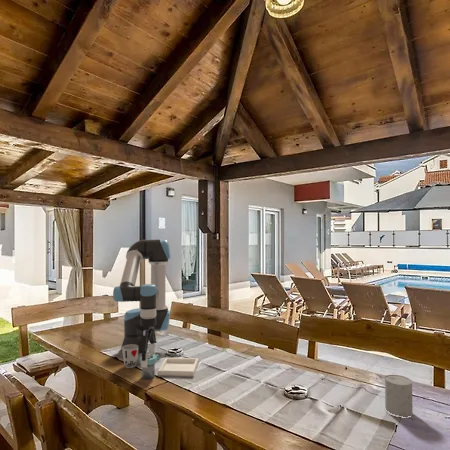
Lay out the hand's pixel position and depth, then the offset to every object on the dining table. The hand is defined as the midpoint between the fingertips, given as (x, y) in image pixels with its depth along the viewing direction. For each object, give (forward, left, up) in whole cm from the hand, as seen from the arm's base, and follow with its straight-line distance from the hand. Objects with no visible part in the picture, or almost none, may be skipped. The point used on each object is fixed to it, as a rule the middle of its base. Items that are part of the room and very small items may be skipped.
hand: (148, 361), depth 169 cm
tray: (-10, +13, -7) cm, 18 cm away
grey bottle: (0, 0, -7) cm, 7 cm away
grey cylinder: (+28, +105, -8) cm, 109 cm away
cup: (-13, -13, -8) cm, 20 cm away
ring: (0, 0, 0) cm, 0 cm away
